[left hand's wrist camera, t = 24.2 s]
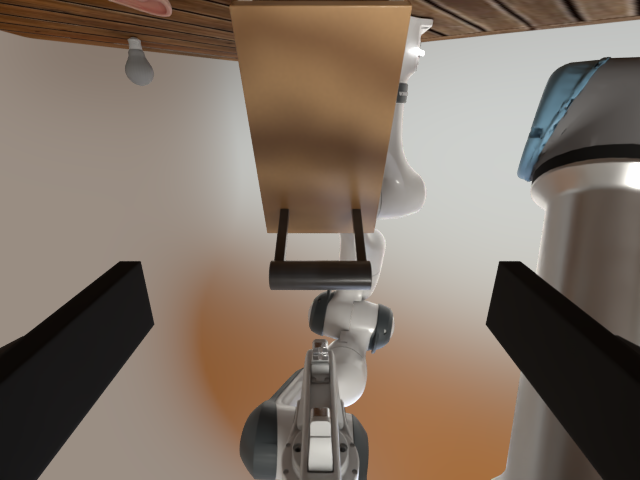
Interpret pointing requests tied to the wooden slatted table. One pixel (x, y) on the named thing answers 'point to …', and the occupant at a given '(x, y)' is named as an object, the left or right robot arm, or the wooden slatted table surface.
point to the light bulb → (138, 64)
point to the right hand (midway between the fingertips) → (320, 373)
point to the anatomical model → (149, 6)
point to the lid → (320, 122)
